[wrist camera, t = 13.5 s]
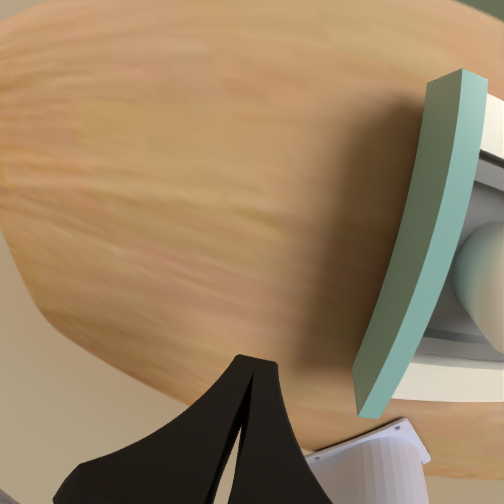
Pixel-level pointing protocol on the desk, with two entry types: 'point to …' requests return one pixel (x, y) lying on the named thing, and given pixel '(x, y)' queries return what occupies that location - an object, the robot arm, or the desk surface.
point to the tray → (433, 245)
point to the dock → (455, 368)
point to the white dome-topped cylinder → (483, 281)
